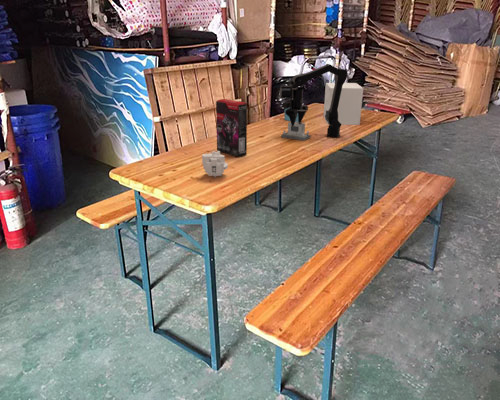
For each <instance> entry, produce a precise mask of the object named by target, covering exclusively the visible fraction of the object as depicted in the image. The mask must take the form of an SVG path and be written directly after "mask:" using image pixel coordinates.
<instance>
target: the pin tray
mask: <svg viewBox="0 0 500 400" xmlns="http://www.w3.org/2000/svg"><path fill="white" fill-rule="evenodd" d="M282 133H283V134H281V135H280V138H281V139H282V138H283V139H289V140H290V139H291V140H295V141H296V140H297V141H301V142H304V141H306V140H308V139H310V138H311V137H312V136H311V134H310V131H309V130H307V131H306V134H304V133H302V136H295V135H288V131H286V130H285V129H283V132H282Z"/></svg>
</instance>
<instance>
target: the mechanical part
mask: <svg viewBox="0 0 500 400" xmlns="http://www.w3.org/2000/svg"><path fill="white" fill-rule="evenodd" d="M201 156H202V157H201V159H202V165H203V169H204V173H207V176H209V177H213V178H214V179H215V178H217V177H219V176H220V177H223V174H224V173H225V170H227V169H228V167H229V165H228V163H227V162H226V161H225V160H226V159H225V157H226V156H225V155H223V154H221V152H220V151H217V150H216V151H214V150H213V151H211V152H210V153H203V154H201Z"/></svg>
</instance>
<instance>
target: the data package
mask: <svg viewBox="0 0 500 400" xmlns="http://www.w3.org/2000/svg"><path fill="white" fill-rule="evenodd" d="M287 109H289V108H287ZM287 109H284V112H283V114H284V118H283V119H284V121H286V122H287V121H288V122H291V121H290V118H289V116H288V115H286V114H285V111H286V110H287ZM295 122H299V121H298V113H297V118H296V121H295Z"/></svg>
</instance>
